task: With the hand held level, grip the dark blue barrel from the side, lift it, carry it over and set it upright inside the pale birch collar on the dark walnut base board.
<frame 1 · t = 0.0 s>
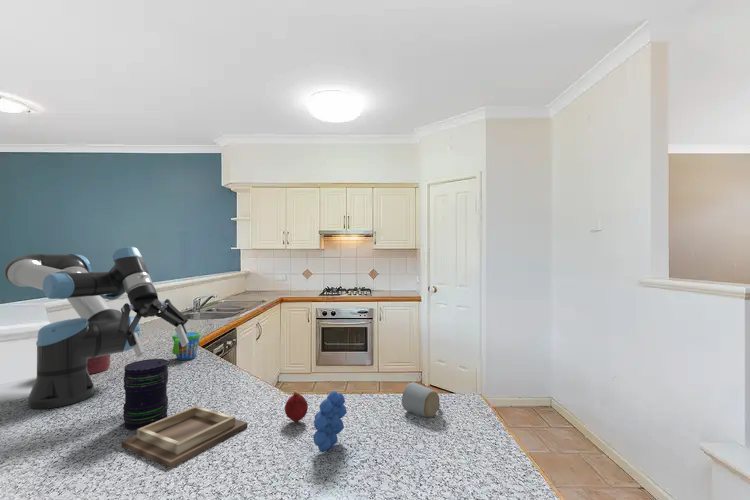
hand: (164, 349, 108), 15 cm above the countertop, tool tilted 35°, fingers open, 13 cm apart
onion: (296, 422, 94), on the countertop
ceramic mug: (423, 413, 100), on the countertop
snack cup: (186, 358, 154), on the countertop
canister: (89, 371, 137), on the countertop
base board: (187, 436, 86), on the countertop
dark blue barrel: (146, 422, 94), on the countertop
grapes: (327, 446, 82), on the countertop
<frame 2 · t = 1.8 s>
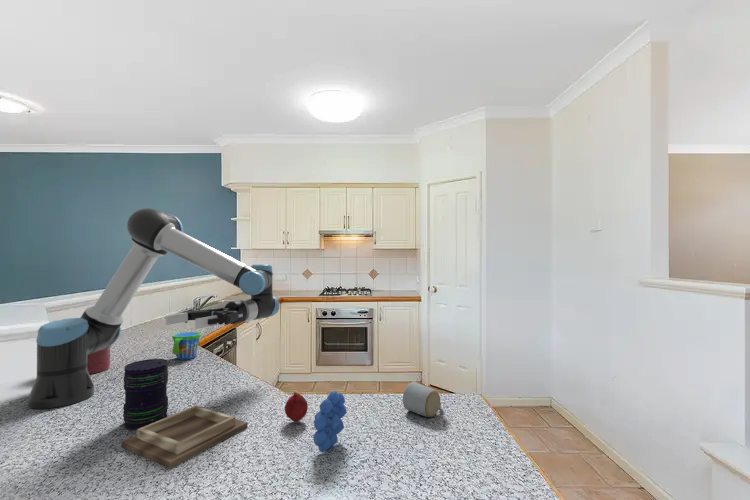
hand: (180, 322, 103), 24 cm above the countertop, tool horizontal, fingers open, 13 cm apart
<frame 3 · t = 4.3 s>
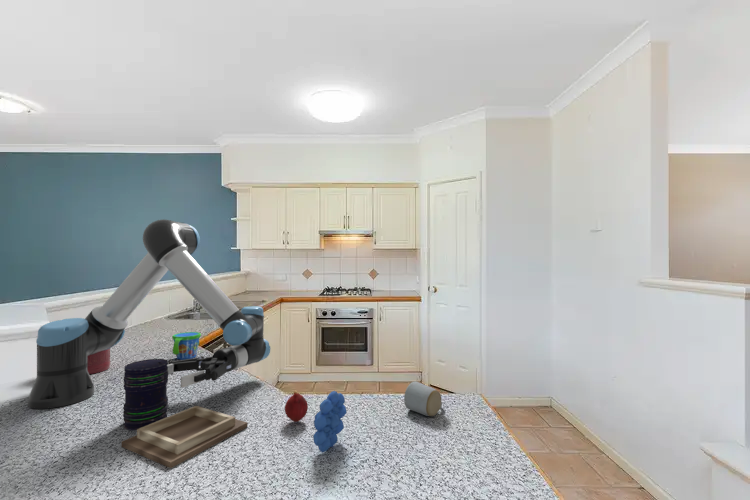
hand: (165, 378, 98), 10 cm above the countertop, tool horizontal, fingers open, 13 cm apart
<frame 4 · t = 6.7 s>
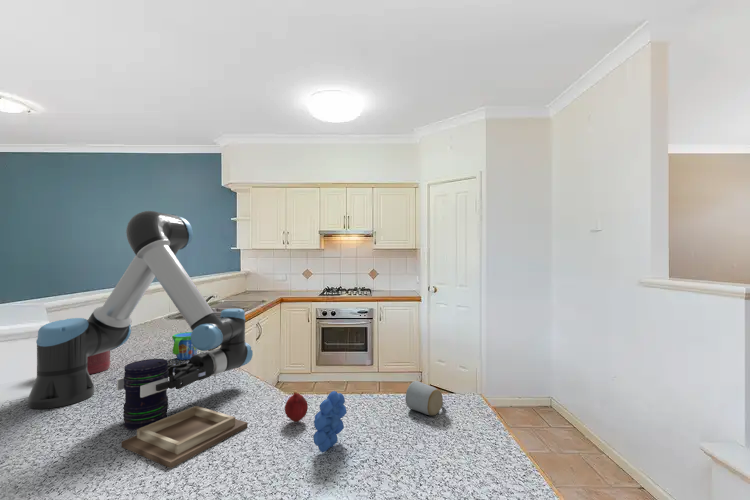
hand: (128, 388, 91), 10 cm above the countertop, tool horizontal, fingers closed on dark blue barrel, 10 cm apart
dark blue barrel: (146, 422, 94), on the countertop, touching gripper
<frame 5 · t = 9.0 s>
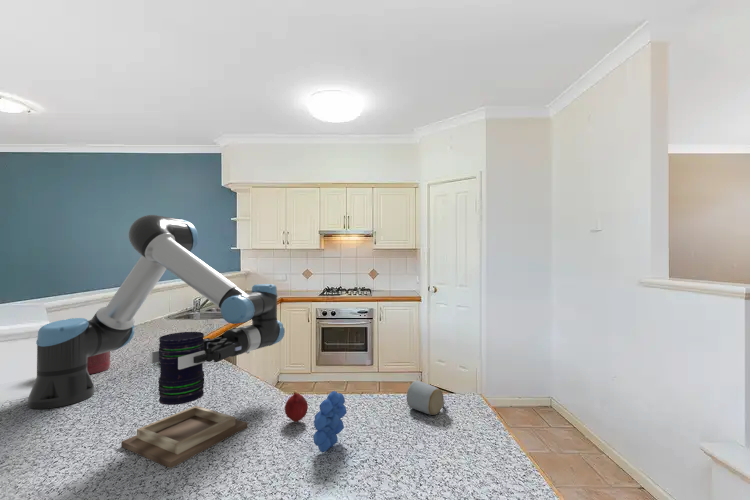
hand: (164, 360, 85), 19 cm above the countertop, tool horizontal, fingers closed on dark blue barrel, 10 cm apart
dark blue barrel: (181, 397, 89), point 8 cm above the countertop, touching gripper
when the fingers open (13 cm above the countertop, at t = 11.5 s): dark blue barrel drops 1 cm, resting on base board.
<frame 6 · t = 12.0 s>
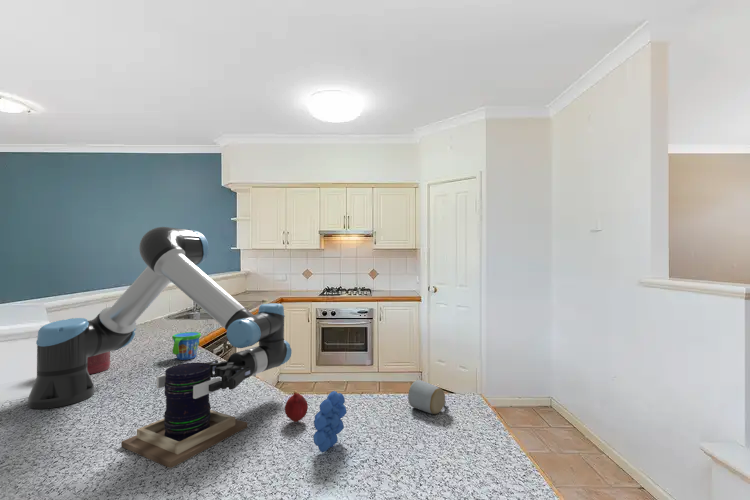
hand: (175, 387, 84), 13 cm above the countertop, tool horizontal, fingers open, 13 cm apart
dark blue barrel: (187, 431, 86), point 1 cm above the countertop, touching base board
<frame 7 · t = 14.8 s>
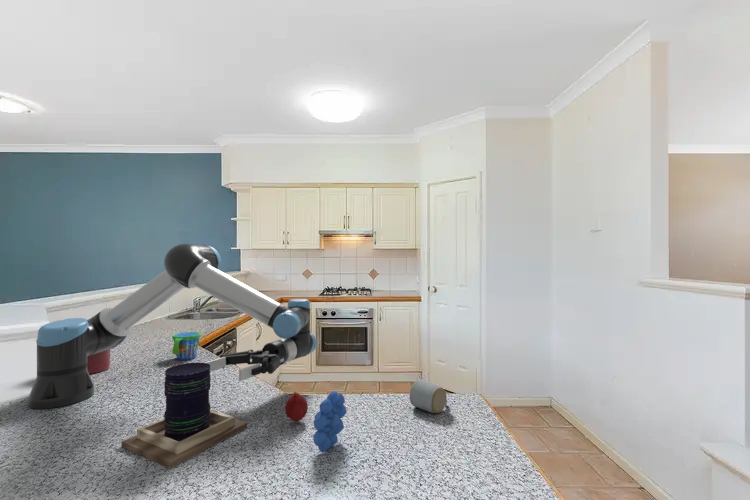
hand: (221, 371, 95), 13 cm above the countertop, tool horizontal, fingers open, 13 cm apart
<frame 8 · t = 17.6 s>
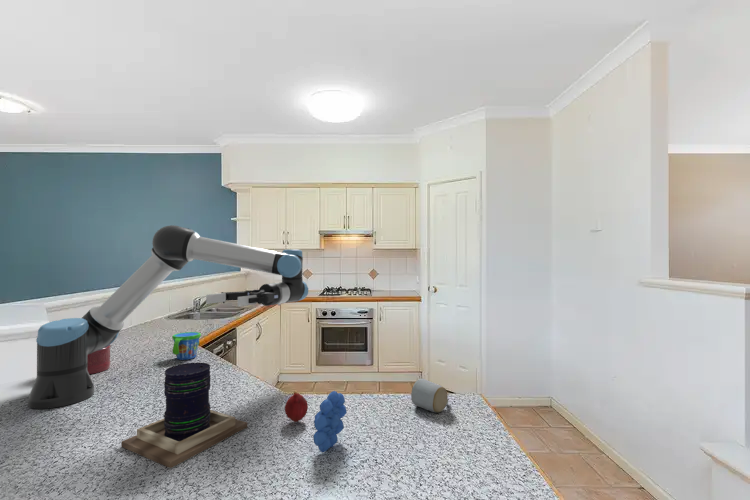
hand: (222, 300, 107), 30 cm above the countertop, tool horizontal, fingers open, 13 cm apart
at the end: dark blue barrel 0.1 cm off-centre on the base board, point 1.0 cm above the base board's base; dark blue barrel tilted 0°; the gripper is holding nothing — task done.
